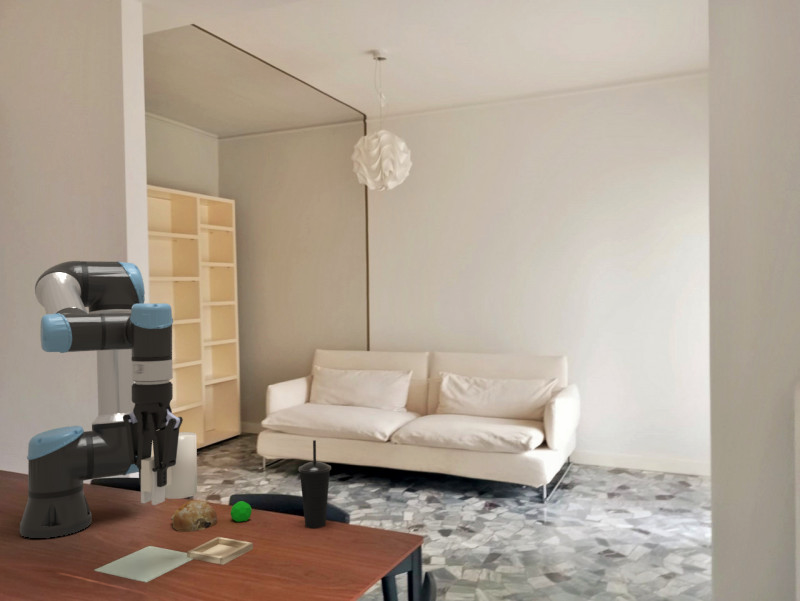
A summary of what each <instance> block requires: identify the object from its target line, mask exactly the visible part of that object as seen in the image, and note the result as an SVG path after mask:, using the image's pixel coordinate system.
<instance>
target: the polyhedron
mask: <svg viewBox="0 0 800 601" xmlns="http://www.w3.org/2000/svg"><path fill="white" fill-rule="evenodd" d="M252 511H253V509H252V507H251V505H250V504H249V503H248V502H245V500H244V501H243V500H241V501H237V502H236V503H234V504H233V505H232V507H231V510H230V517H231V519H232V520H233V521H235V522H237V523H241V522H247V521H249V519H250V518H251V516H252Z"/></svg>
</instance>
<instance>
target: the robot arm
mask: <svg viewBox="0 0 800 601" xmlns="http://www.w3.org/2000/svg"><path fill="white" fill-rule="evenodd" d="M143 280H144V279H143V275H142V273H141V270H140V269H139V267H138V266H137V264H135V263H132V262H122V261H118V260H117V261H96V260H95V261H92V260H91V261H89V260H88V261H87V260H86V261H84V260H82V261H81V260H69V261H65V262H61V263H58V264H55V265H54V266H51V267H49V268H48V269H46V270H45V271H44V272H42V274H40V276H39V277H38V279H37V280H36V282H35V287H34V293H35V297H36V299H37V301H38V303H39V304H40V305H41V306H42V307H43V308H44V310H45V314H44V315H42V317H41V319H40V334H39V335H40V347H41V350H43V351H44V352H46V353H60V354H64V353H73V352H76V353H77V352H78V353H79V352H91V351H92V352H95V351H96V370H97V371H96V375H97V376H96V378H97V379H96V381H97V382H96V383H97V409H98V410H97V413H98V414H97V417H96V418H95V419H94V420H93V422H91V430H89V431H85V429H84V428H83V426H80V425H71V426H63V427H58V428H54V429H49V430H47V431H42V432H40V433H38V434H36V435H35V434H34V435H33V437H31V438H30V439H29V441H28V447H27V448H28V449H27V456H26V459H27V460H28V461H27V462H28V463H27V464H28V465H27V468H28V471H27V472H28V473H27V475H28V476H27V477H28V478H27V479H28V480H27V481H28V483H27V488H28V491H27V497H28V498H27V503H26V505H25V507H24V508H25V509H24V511H23V514H22V517H21V518H22V519H21V521H20V522H19V535H20V534H21V535H22V536H25V537H29V538H28V539H30V538H46V539H51V538H50V537H55V538H58V537H57V536H61V537H64V536H63V535H65V536H68V534H70V535H72V534H71V533H73V534H76V533H78V531H79V532H81V531H80V530H82V529H84V530H85V528H86V527H88V526H89V525H90V524H91V522H92V523H93V520H92V516H93V514H92V511H91V509H90V507H89V503H88V501H87V498H86V495H85V493H84V492H85V491H84V481H88V480H90V481H91V480H95V479H96V480H97V479H101V478H102V479H103V478H110V477H117V476H127V475H131V474H135V473H138V484H139V485H140V503H141V504H146V503H149V502H151V505H153V506H156V505H159V504H161V503H164V502H165V501H166V498H165V486H166V484H167V469H168V468H169V467H171V466H174V465H175V464H176V457H177V447H178V437H179V432H180V428H181V426H182V424H183V421H184V418H183V417H182V416H176V415H174V414H173V411H172V408H171V401H172V400H173V393H174V392H173V389H174V388H173V383H172V381H170V380H172V379H173V378H174V377H173V375H174V374H173V324H174V320H173V311H172V310H173V309H172V306H171V305H170V304H169V303H165V302H164V303H163V302H162V303H145V301H146V300H145V294H146V292H145V284H144V281H143ZM86 308H88V311H87V309H86ZM152 449H153V452H152ZM152 453H153V456H154V464H155V468H153V469H152V491H151V492H145V491H142V486H141V460H143V459H146V458H150V457H152ZM91 525H92V524H91ZM91 525H90V526H91ZM90 526H89V527H90ZM89 527H88V528H89ZM86 529H87V528H86ZM82 531H83V530H82ZM75 532H76V533H75ZM21 535H20V536H21ZM22 536H21V537H22ZM25 537H24V538H25Z"/></svg>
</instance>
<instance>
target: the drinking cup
mask: <svg viewBox="0 0 800 601" xmlns="http://www.w3.org/2000/svg"><path fill="white" fill-rule="evenodd" d="M331 470H332V466H331V465H329V464H327V463H326V462H322V461H317V441H316V440H312V461H309V462H307V463H304V464H303V465H301V466H299V467H298V471H299V476H300V488H301V496H302V506H303V507H302V509H303V517H304V527H306V528H308V527H309V529H320V528H323V527H324V526H326V525H327V524H326V523H327V522H326V521H327V509H328V497H329V483H330V472H331Z"/></svg>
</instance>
